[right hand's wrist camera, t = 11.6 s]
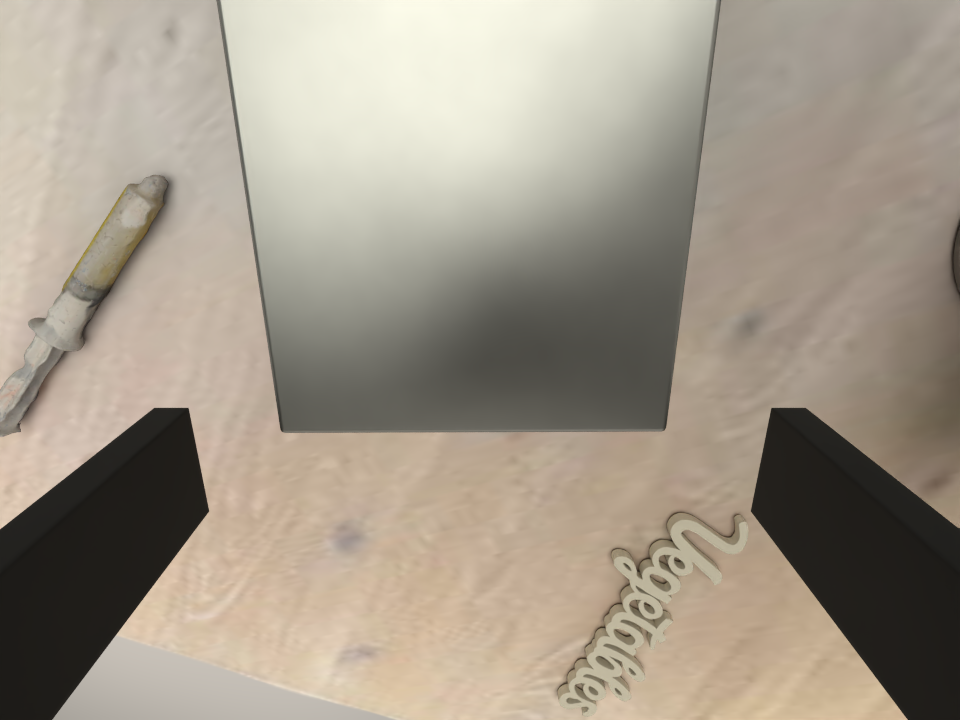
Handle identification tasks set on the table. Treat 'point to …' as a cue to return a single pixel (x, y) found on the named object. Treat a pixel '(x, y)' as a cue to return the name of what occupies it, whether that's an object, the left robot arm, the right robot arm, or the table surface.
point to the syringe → (81, 296)
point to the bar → (470, 206)
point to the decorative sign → (643, 610)
